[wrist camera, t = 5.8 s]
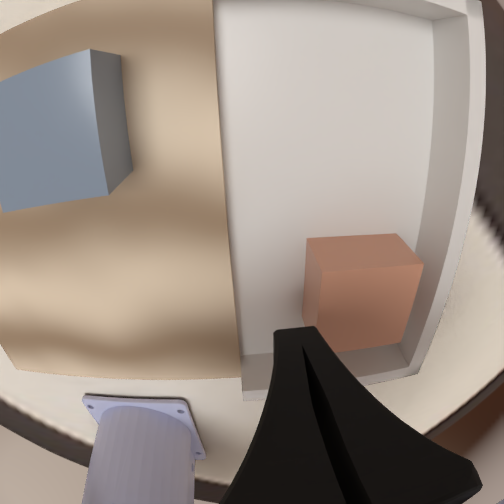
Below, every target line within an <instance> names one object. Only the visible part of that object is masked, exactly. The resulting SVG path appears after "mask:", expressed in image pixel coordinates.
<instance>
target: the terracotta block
mask: <svg viewBox="0 0 504 504" xmlns="http://www.w3.org/2000/svg"><path fill="white" fill-rule="evenodd" d="M423 266H424V263H423V262H422V261H421V260H420V258H419V257H418V256H417V255H416V254H415V253H414V252H413V251H412V250H411V249H410V247H409V246H408V245H407V244H406V243H405V242H404V241H403V240H402V239H401V238H400V237H399V236H398V235H397V234H396V233H394V234H374V235H354V236H335V237H317V238H307V239H306V259H305V276H304V292H303V306H302V319H303V322H304V326H305V327H307V326H315V327H316V328H317V329H318V331H319V332H320V334H321V335H322V337H323V338H324V339H325V341H326V342H327V343H328V345H329V346H330V348H331V349H332V350H333V351H334V353H337V352H344V351H351V350H358V349H365V348H371V347H377V346H383V345H389V344H394V343H400V342H401V340H402V337H403V334H404V331H405V328H406V325H407V322H408V319H409V315H410V312H411V309H412V306H413V302H414V299H415V296H416V292H417V289H418V285H419V281H420V278H421V274H422V270H423Z"/></svg>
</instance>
